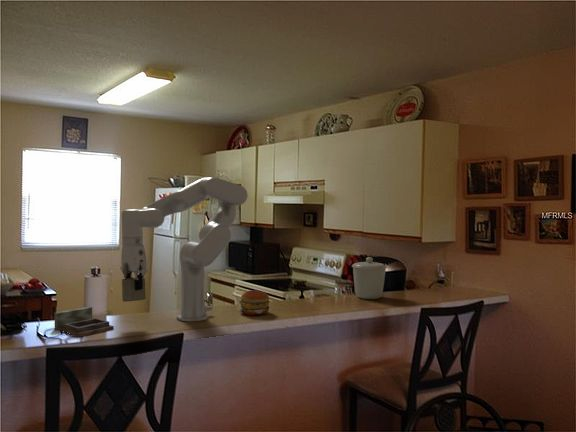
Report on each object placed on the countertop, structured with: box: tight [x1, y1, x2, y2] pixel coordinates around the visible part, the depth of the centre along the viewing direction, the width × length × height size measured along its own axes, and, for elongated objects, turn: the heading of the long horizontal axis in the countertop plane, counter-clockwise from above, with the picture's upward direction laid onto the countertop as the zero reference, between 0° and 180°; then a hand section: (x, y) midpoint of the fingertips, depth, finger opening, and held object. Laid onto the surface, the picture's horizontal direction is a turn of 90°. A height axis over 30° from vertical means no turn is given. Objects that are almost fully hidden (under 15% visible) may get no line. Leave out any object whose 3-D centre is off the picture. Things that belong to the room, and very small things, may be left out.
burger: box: [238, 289, 271, 316], centre depth 216 cm, size 13×14×10 cm
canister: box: [351, 256, 388, 300], centre depth 257 cm, size 18×18×21 cm
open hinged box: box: [54, 306, 115, 338], centre depth 184 cm, size 14×16×6 cm
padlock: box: [121, 262, 147, 303], centre depth 190 cm, size 4×8×15 cm, turn 119°
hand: (133, 288), depth 190 cm, fingers closed on padlock, 5 cm apart
